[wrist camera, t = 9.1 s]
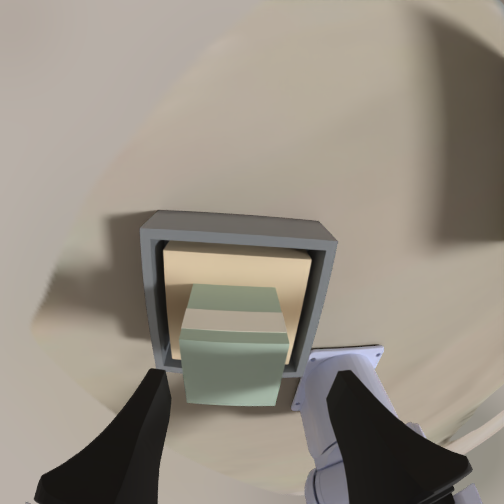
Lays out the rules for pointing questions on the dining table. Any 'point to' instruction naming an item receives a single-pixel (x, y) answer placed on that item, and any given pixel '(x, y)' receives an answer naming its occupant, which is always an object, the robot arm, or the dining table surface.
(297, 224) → the gray square tray
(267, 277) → the tan wooden block
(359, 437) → the robot arm
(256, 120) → the dining table surface
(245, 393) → the green banded cube
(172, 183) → the dining table surface
